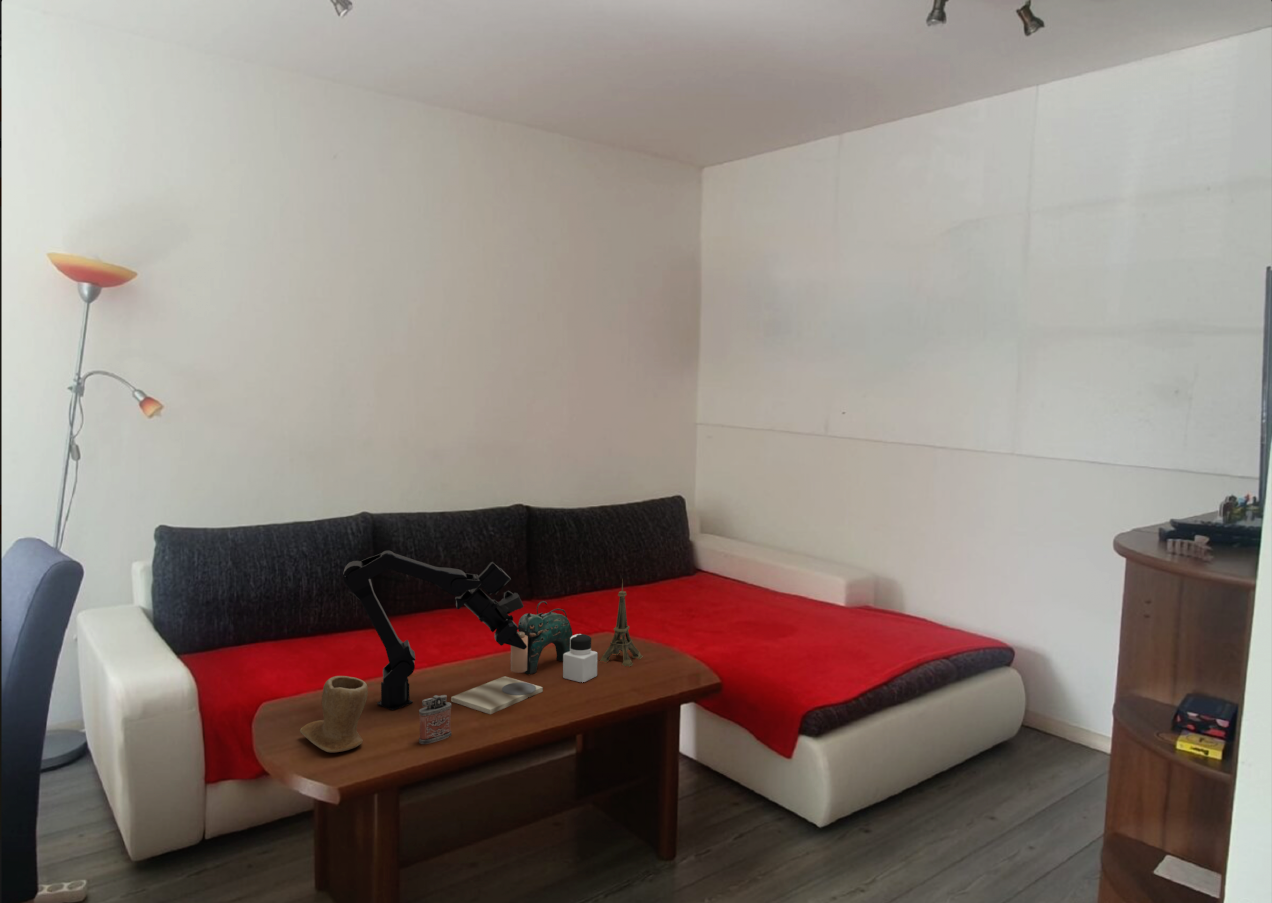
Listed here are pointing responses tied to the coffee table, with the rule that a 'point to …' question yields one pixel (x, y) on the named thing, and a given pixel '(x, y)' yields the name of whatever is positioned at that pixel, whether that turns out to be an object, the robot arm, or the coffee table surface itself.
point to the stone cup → (339, 715)
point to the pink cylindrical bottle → (519, 656)
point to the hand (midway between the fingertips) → (524, 645)
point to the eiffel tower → (622, 631)
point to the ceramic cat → (545, 635)
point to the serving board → (496, 694)
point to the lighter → (435, 719)
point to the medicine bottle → (580, 659)
